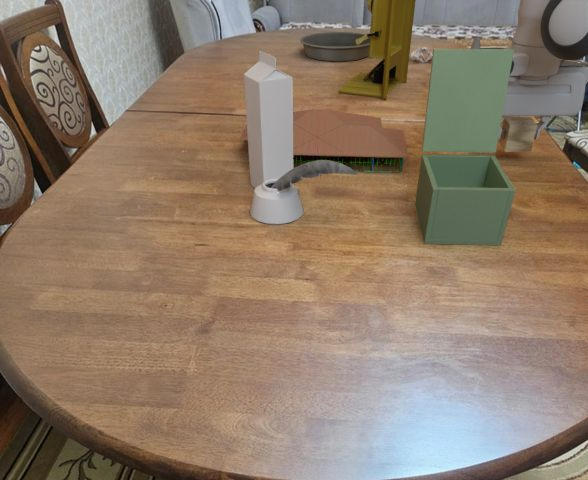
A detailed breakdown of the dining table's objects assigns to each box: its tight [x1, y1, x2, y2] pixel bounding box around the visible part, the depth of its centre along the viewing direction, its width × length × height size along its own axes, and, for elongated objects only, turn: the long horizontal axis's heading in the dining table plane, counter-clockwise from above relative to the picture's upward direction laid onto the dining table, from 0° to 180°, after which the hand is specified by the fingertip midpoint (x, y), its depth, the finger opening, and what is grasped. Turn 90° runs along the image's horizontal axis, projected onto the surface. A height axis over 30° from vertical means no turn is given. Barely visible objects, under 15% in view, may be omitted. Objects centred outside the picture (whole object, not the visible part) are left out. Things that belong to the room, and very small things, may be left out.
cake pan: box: [299, 31, 370, 62], centre depth 180 cm, size 25×25×4 cm
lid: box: [421, 48, 514, 153], centre depth 84 cm, size 14×12×1 cm
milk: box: [243, 50, 295, 189], centre depth 93 cm, size 6×6×22 cm
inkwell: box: [249, 159, 358, 225], centre depth 88 cm, size 9×18×10 cm, turn 74°
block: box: [498, 116, 538, 153], centre depth 106 cm, size 5×5×5 cm
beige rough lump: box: [409, 46, 433, 64], centre depth 171 cm, size 8×4×7 cm
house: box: [238, 108, 410, 173], centre depth 111 cm, size 23×33×8 cm
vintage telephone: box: [338, 0, 416, 101], centre depth 140 cm, size 31×14×30 cm, turn 155°
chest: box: [414, 153, 516, 246], centre depth 86 cm, size 14×12×9 cm
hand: (516, 138), depth 106 cm, fingers closed on block, 5 cm apart
